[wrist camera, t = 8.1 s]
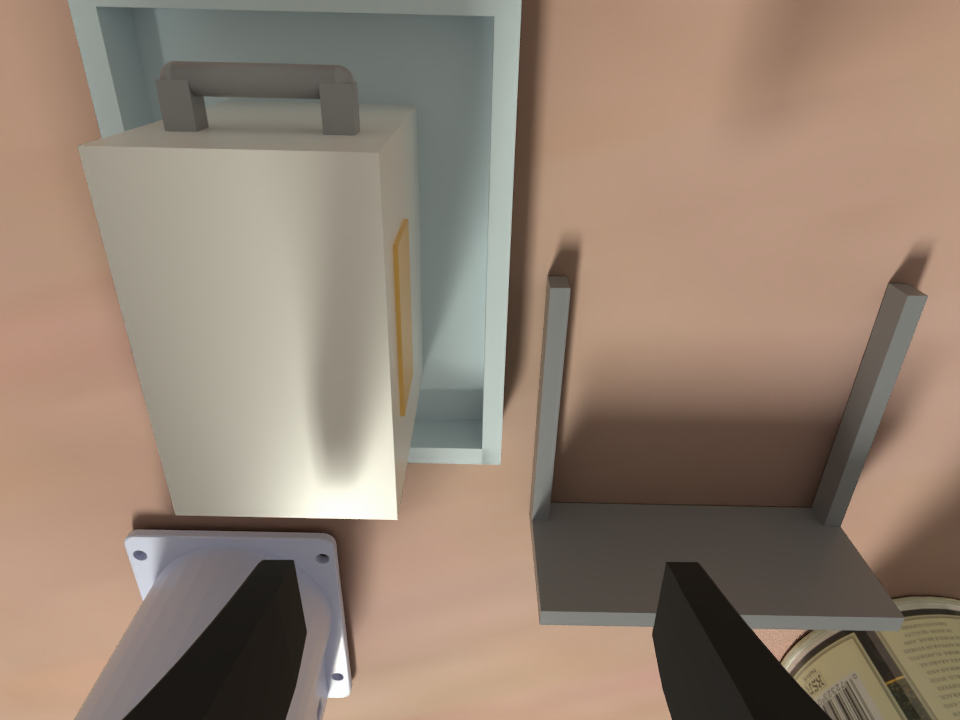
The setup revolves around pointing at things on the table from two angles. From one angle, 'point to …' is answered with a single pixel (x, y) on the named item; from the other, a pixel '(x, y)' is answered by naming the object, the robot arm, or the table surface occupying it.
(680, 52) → the table surface
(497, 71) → the tray
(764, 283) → the table surface
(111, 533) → the table surface
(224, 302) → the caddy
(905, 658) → the coffee can
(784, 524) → the dock
